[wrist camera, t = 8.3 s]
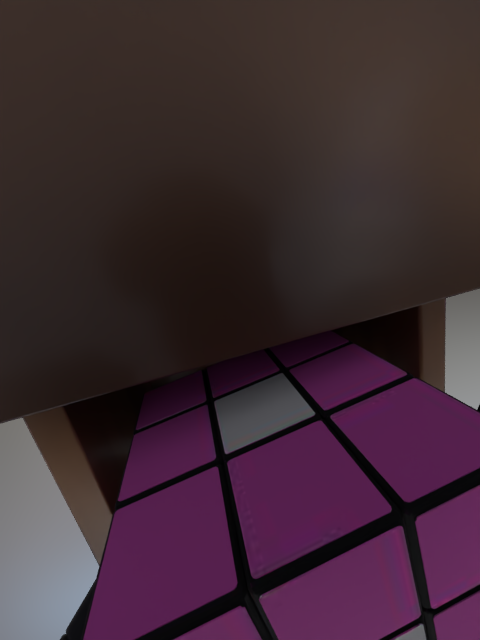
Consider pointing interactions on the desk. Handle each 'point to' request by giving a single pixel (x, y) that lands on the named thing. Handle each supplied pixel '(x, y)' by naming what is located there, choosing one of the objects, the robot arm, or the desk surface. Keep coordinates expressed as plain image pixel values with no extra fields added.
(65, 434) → the drawer
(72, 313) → the cabinet
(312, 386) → the puzzle toy
